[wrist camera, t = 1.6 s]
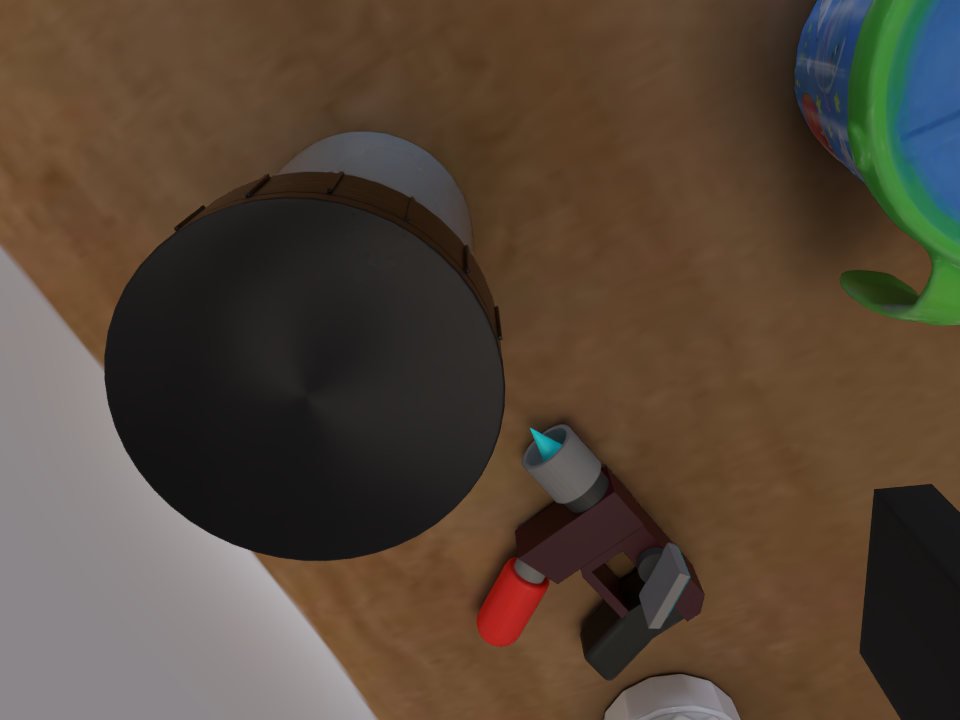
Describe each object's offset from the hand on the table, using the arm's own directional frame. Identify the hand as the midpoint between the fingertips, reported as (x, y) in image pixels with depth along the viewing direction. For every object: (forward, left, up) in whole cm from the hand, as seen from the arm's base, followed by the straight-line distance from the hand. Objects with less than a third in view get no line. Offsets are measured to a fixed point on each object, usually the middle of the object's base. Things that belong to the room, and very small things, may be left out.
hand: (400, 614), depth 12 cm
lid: (-1, -3, -9) cm, 9 cm away
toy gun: (+15, -2, -23) cm, 27 cm away
